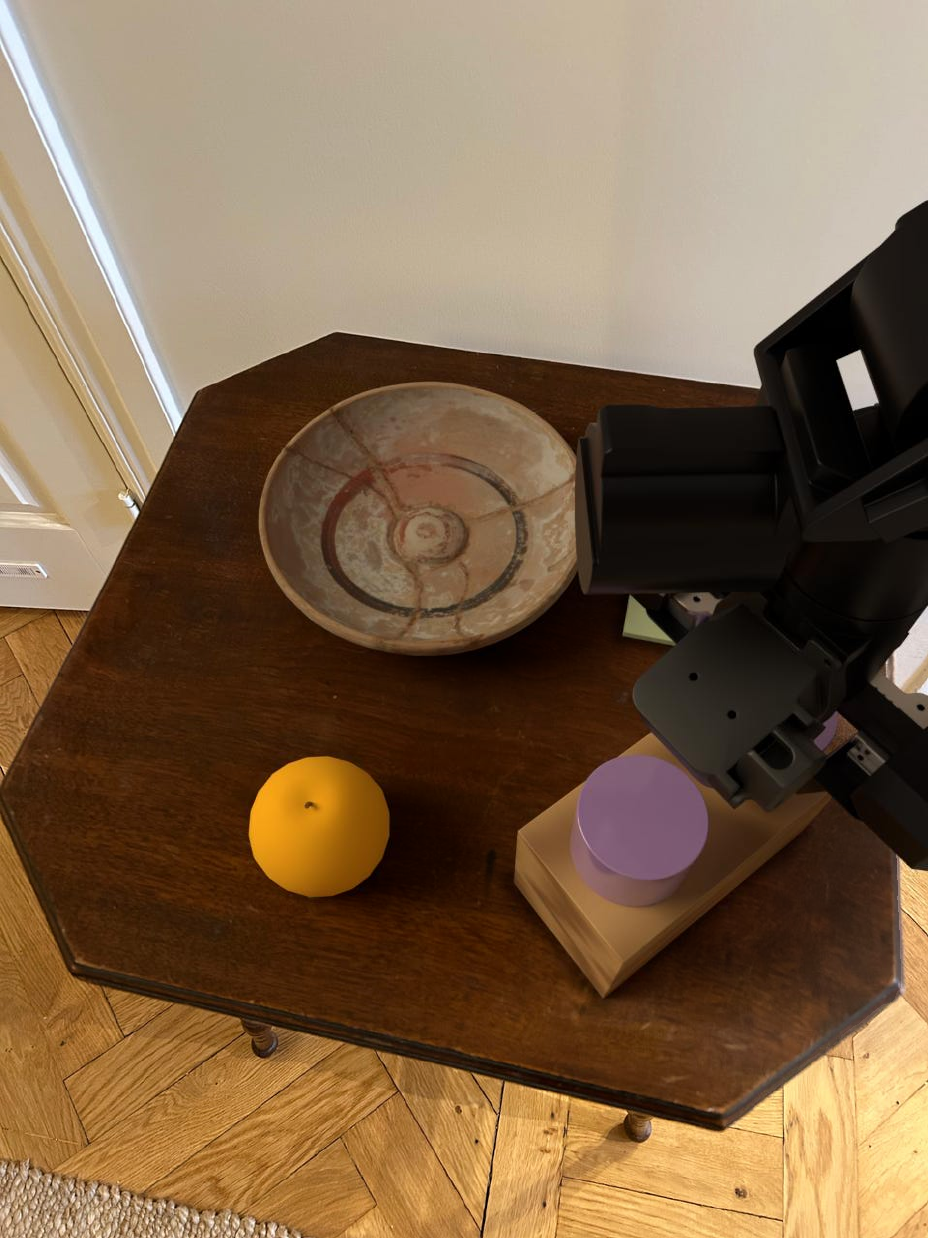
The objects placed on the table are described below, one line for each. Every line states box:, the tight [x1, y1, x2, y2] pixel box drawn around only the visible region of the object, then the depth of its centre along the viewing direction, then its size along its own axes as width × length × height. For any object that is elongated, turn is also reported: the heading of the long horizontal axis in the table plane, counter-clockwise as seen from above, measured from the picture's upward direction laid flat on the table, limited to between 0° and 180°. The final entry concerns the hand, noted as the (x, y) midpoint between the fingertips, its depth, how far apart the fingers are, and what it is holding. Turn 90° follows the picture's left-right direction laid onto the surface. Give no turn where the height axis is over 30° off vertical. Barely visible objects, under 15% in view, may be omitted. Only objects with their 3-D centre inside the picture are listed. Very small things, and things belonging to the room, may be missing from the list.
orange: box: [248, 755, 390, 898], centre depth 52 cm, size 8×8×8 cm
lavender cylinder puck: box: [570, 755, 709, 907], centre depth 43 cm, size 6×6×4 cm
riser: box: [513, 731, 834, 999], centre depth 50 cm, size 8×16×9 cm, turn 126°
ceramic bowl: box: [258, 381, 578, 657], centre depth 65 cm, size 23×24×5 cm
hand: (752, 739), depth 46 cm, fingers closed on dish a, 6 cm apart
